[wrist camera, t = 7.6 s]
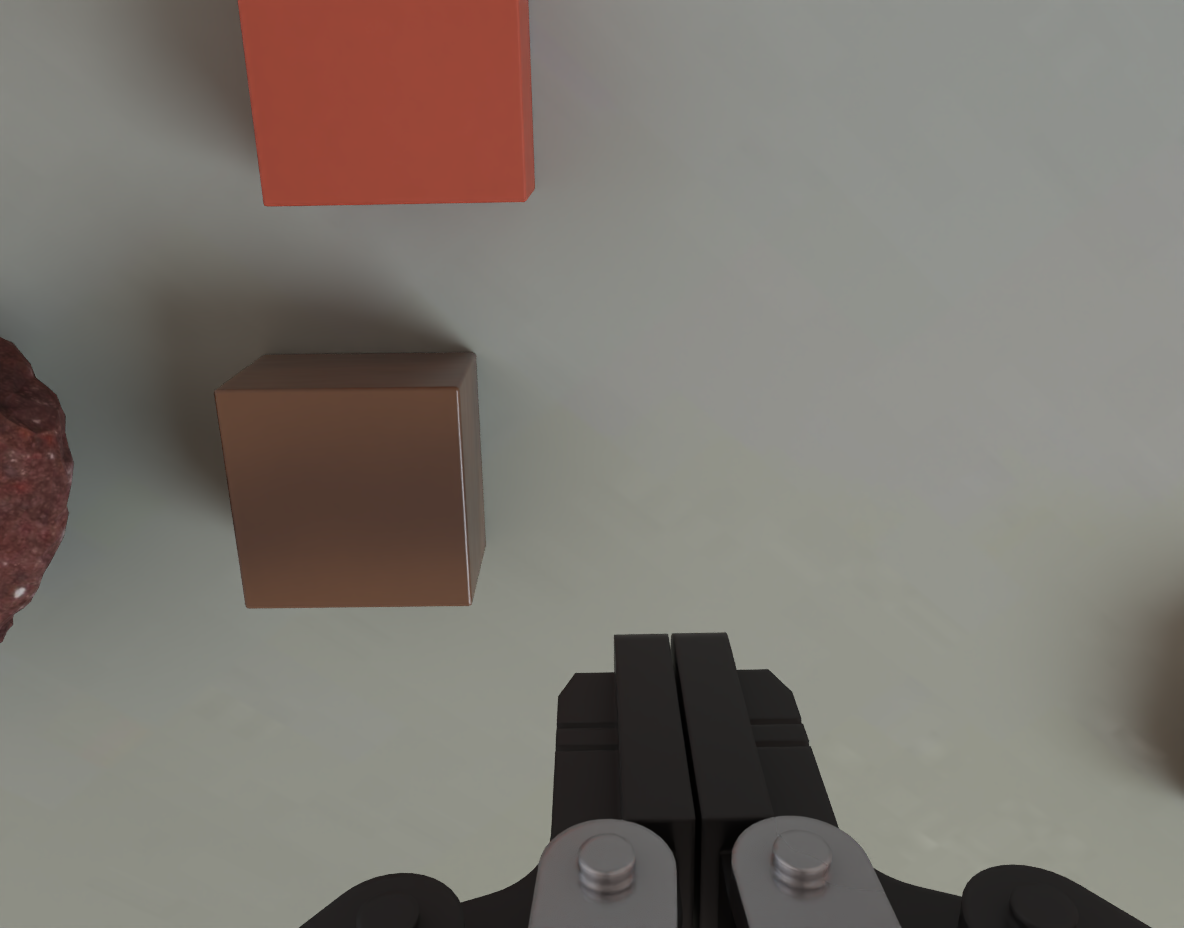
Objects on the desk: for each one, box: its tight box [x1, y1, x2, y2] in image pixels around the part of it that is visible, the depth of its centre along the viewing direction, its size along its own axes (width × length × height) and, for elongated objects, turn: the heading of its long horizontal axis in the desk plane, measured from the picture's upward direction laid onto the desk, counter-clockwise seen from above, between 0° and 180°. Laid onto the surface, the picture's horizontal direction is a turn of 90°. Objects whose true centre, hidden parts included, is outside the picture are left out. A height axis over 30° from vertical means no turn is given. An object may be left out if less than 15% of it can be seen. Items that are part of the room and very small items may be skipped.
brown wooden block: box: [214, 352, 486, 608], centre depth 22 cm, size 5×5×3 cm
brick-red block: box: [238, 0, 535, 206], centre depth 19 cm, size 5×5×3 cm
